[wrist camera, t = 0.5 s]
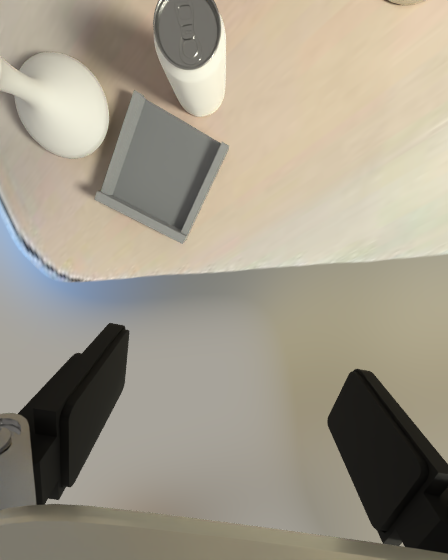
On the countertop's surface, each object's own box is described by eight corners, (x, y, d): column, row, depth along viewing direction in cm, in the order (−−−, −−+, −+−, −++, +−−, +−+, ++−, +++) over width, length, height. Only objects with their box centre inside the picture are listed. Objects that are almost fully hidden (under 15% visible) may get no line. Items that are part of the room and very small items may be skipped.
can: (181, 121, 32) (157, 81, 21) (170, 62, 30) (139, -18, 19) (228, 113, 32) (231, 68, 21) (221, 53, 30) (220, -34, 19)
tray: (140, 97, 31) (131, 86, 28) (228, 149, 33) (229, 144, 30) (106, 199, 36) (94, 199, 32) (186, 239, 38) (182, 243, 34)
